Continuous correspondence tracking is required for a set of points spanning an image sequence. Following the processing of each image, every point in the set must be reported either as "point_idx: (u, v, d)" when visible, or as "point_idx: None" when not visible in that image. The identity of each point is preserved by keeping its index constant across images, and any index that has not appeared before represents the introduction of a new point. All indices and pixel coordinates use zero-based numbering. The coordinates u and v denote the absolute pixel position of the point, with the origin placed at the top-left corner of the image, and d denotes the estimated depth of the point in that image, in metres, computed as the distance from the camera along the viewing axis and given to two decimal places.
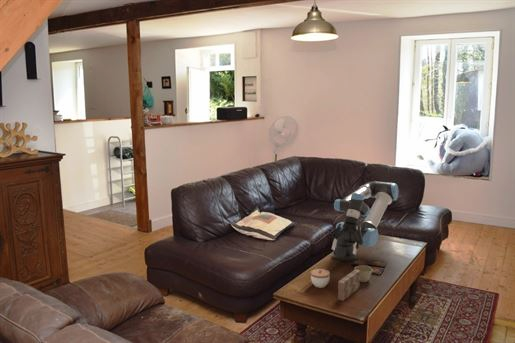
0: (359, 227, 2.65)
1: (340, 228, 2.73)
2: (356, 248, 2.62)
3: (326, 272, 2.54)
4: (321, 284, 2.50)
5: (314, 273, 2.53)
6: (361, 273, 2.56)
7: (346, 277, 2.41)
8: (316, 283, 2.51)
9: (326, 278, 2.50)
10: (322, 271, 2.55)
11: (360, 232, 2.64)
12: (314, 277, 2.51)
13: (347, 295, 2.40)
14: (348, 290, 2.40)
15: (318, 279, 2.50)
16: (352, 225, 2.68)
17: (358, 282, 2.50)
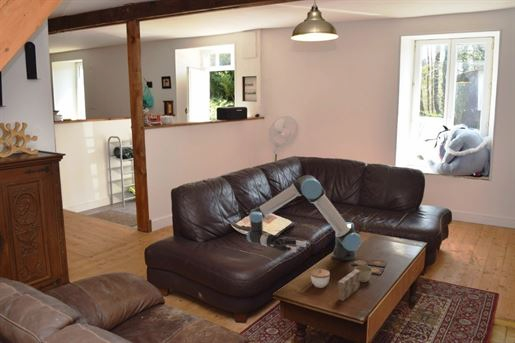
0: None
1: (285, 239, 2.72)
2: (290, 248, 2.57)
3: (326, 272, 2.54)
4: (321, 284, 2.50)
5: (314, 273, 2.53)
6: (361, 273, 2.56)
7: (346, 277, 2.41)
8: (316, 283, 2.51)
9: (326, 278, 2.50)
10: (322, 271, 2.55)
11: (274, 246, 2.62)
12: (314, 277, 2.51)
13: (347, 295, 2.40)
14: (348, 290, 2.40)
15: (318, 279, 2.50)
16: None
17: (358, 282, 2.50)
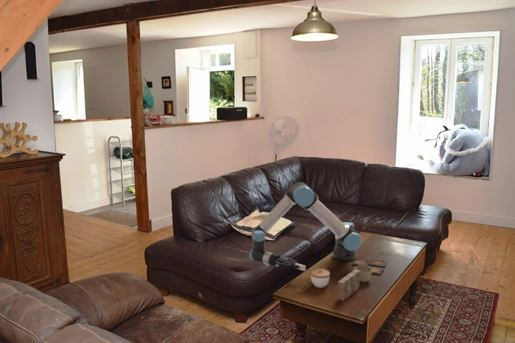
0: None
1: (287, 259, 2.72)
2: (299, 267, 2.61)
3: (326, 272, 2.54)
4: (321, 284, 2.50)
5: (314, 273, 2.53)
6: (361, 273, 2.56)
7: (346, 277, 2.41)
8: (316, 283, 2.51)
9: (326, 278, 2.50)
10: (322, 271, 2.55)
11: (281, 266, 2.64)
12: (314, 277, 2.51)
13: (347, 295, 2.40)
14: (348, 290, 2.40)
15: (318, 279, 2.50)
16: None
17: (358, 282, 2.50)
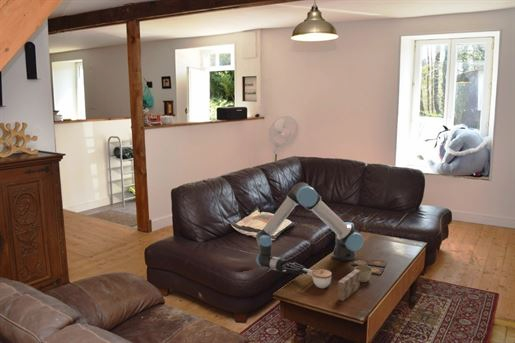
0: (284, 272, 2.62)
1: (295, 264, 2.68)
2: (306, 272, 2.58)
3: (328, 272, 2.53)
4: (323, 284, 2.50)
5: (316, 273, 2.52)
6: (361, 273, 2.56)
7: (346, 277, 2.41)
8: (318, 283, 2.50)
9: (328, 278, 2.50)
10: (324, 271, 2.54)
11: (288, 271, 2.61)
12: (316, 277, 2.50)
13: (347, 295, 2.40)
14: (348, 290, 2.40)
15: (320, 279, 2.49)
16: None
17: (358, 282, 2.50)
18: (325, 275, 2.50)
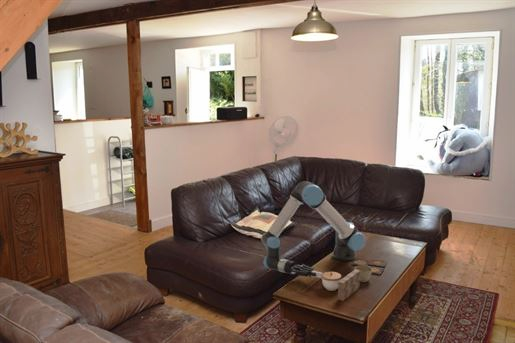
0: (292, 274, 2.58)
1: (303, 266, 2.65)
2: (315, 274, 2.54)
3: (337, 275, 2.50)
4: (333, 287, 2.46)
5: (325, 276, 2.48)
6: (361, 273, 2.56)
7: (346, 277, 2.41)
8: (328, 286, 2.47)
9: None
10: (333, 274, 2.51)
11: (297, 273, 2.57)
12: (326, 280, 2.46)
13: (347, 295, 2.40)
14: (348, 290, 2.40)
15: (330, 282, 2.45)
16: None
17: (358, 282, 2.50)
18: (335, 277, 2.46)
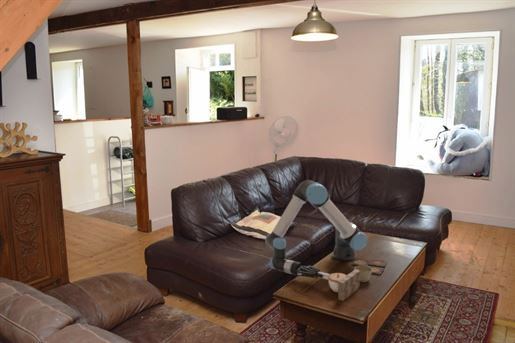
0: None
1: (310, 267, 2.63)
2: (322, 275, 2.52)
3: (344, 276, 2.47)
4: None
5: (332, 277, 2.46)
6: (361, 273, 2.56)
7: (346, 277, 2.41)
8: (334, 288, 2.45)
9: None
10: (340, 275, 2.49)
11: (304, 274, 2.55)
12: (332, 281, 2.44)
13: (347, 295, 2.40)
14: (348, 290, 2.40)
15: (337, 284, 2.43)
16: None
17: (358, 282, 2.50)
18: None
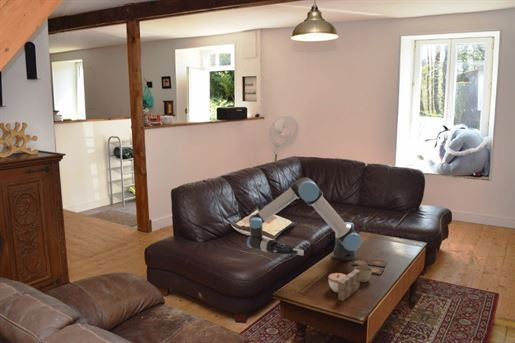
0: None
1: (285, 245, 2.71)
2: (297, 252, 2.60)
3: (344, 276, 2.47)
4: None
5: (332, 277, 2.46)
6: (361, 273, 2.56)
7: (346, 277, 2.41)
8: (334, 288, 2.45)
9: None
10: (340, 275, 2.49)
11: (279, 251, 2.63)
12: (332, 282, 2.44)
13: (347, 295, 2.40)
14: (348, 290, 2.40)
15: (337, 284, 2.43)
16: None
17: (358, 282, 2.50)
18: None
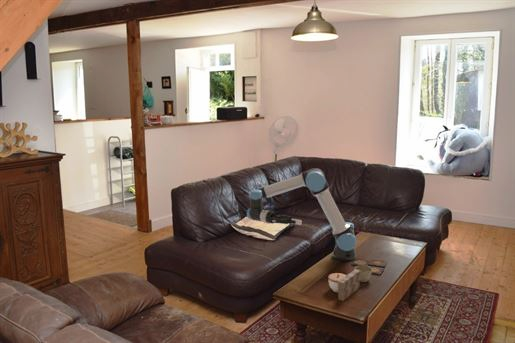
0: (273, 222, 2.72)
1: (284, 216, 2.79)
2: (295, 221, 2.68)
3: (344, 276, 2.47)
4: None
5: (332, 277, 2.46)
6: (361, 273, 2.56)
7: (346, 277, 2.41)
8: (334, 288, 2.45)
9: None
10: (340, 275, 2.49)
11: (278, 221, 2.71)
12: (332, 282, 2.44)
13: (347, 295, 2.40)
14: (348, 290, 2.40)
15: (337, 284, 2.43)
16: None
17: (358, 282, 2.50)
18: None
